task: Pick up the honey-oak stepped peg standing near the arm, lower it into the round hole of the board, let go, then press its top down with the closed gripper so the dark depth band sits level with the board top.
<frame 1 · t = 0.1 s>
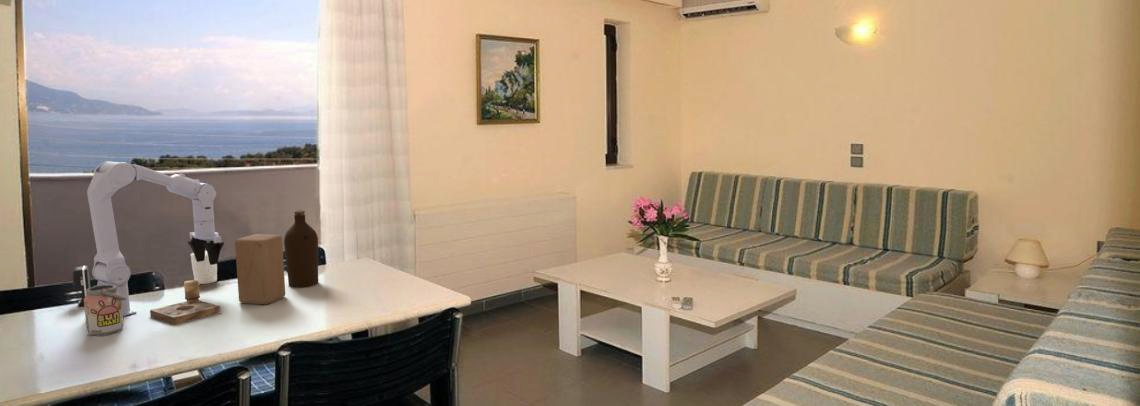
hand: (207, 262, 219), 10 cm above the table, tool pointing down, fingers open, 7 cm apart
olive oil: (303, 284, 232), on the table
peg: (193, 304, 208), on the table
battery charger: (83, 304, 208), on the table
wooden block: (262, 300, 213), on the table
beverage can: (108, 331, 183), on the table
board: (185, 314, 198), on the table
white cup: (206, 282, 235), on the table
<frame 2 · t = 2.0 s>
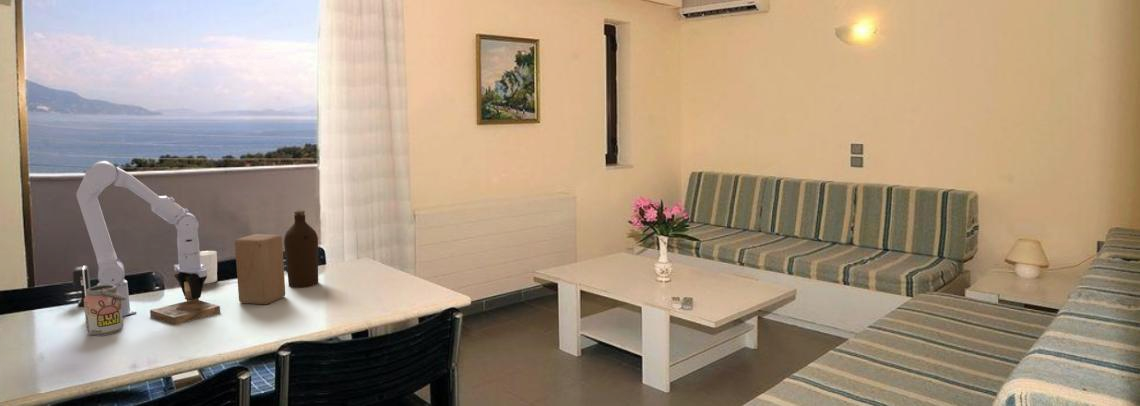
hand: (192, 296, 208), 2 cm above the table, tool pointing down, fingers closed on peg, 4 cm apart
peg: (193, 304, 208), on the table, touching gripper
everything else where it was.
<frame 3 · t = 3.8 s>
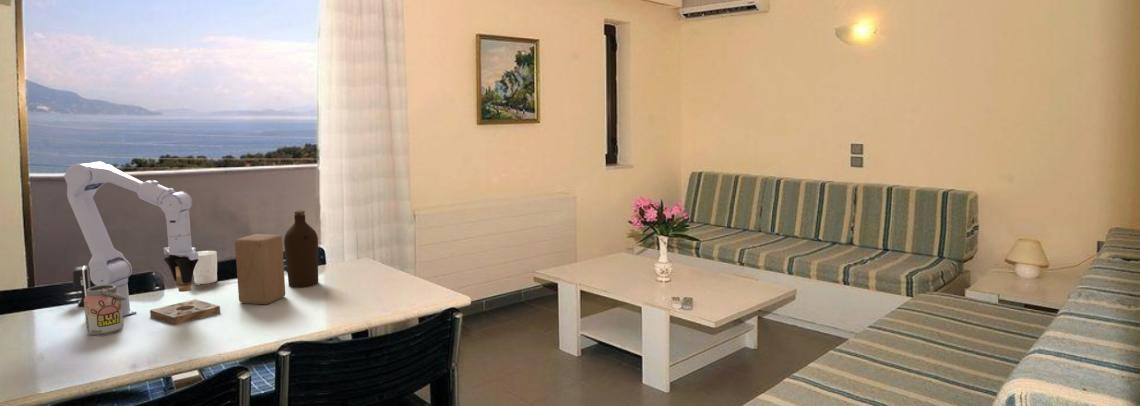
hand: (183, 281, 196), 10 cm above the table, tool pointing down, fingers closed on peg, 4 cm apart
peg: (185, 290, 197), point 7 cm above the table, touching gripper
everything else where it was.
when the fingers open (3 cm above the table, at t = 5.4 s): peg stays where it is, resting in board.
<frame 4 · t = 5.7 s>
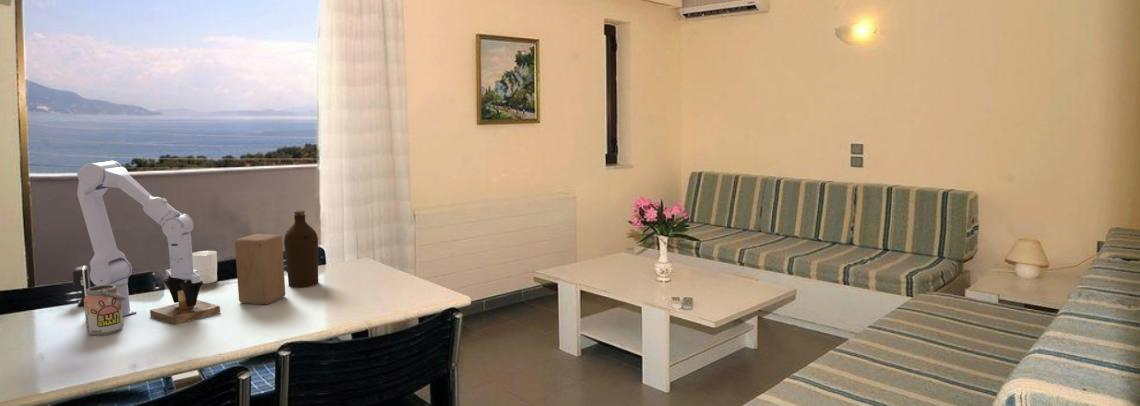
hand: (184, 303, 197), 3 cm above the table, tool pointing down, fingers open, 7 cm apart
peg: (187, 314, 198), resting in board
everything else where it was.
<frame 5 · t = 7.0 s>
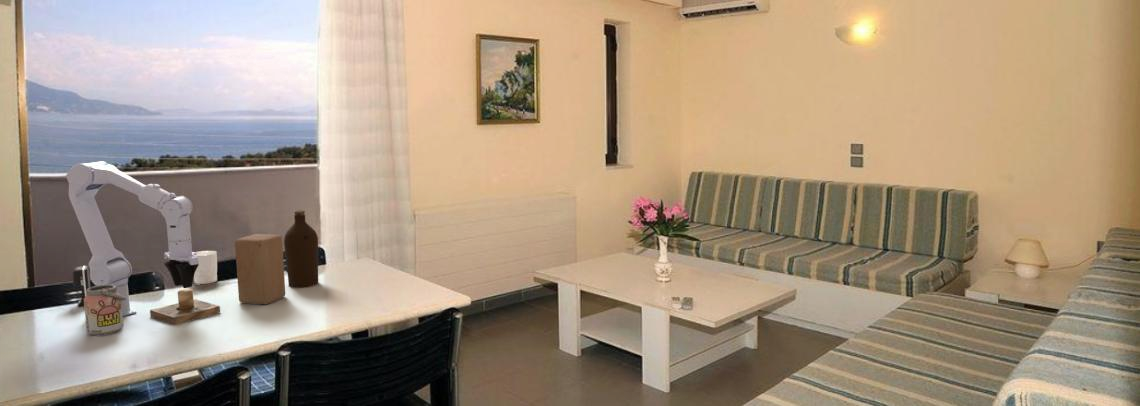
hand: (183, 286, 196), 8 cm above the table, tool pointing down, fingers open, 4 cm apart
nothing on the table moved.
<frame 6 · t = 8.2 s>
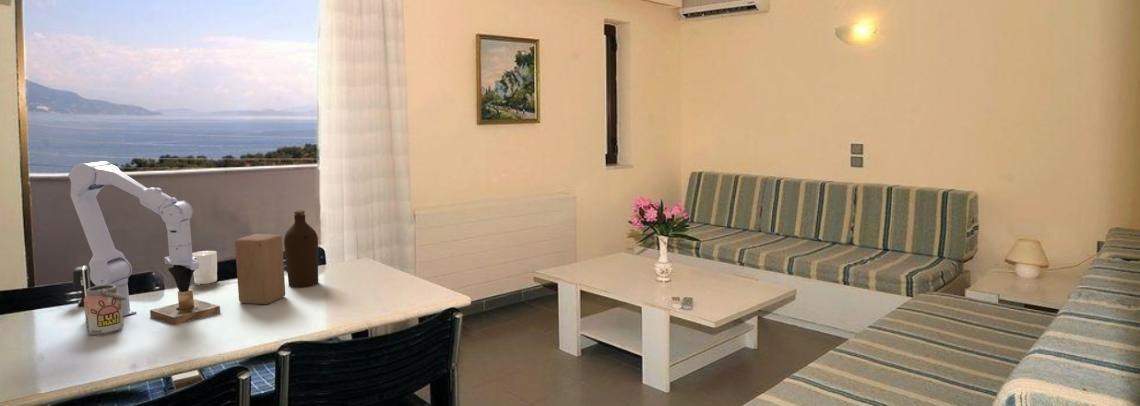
hand: (183, 291, 197), 7 cm above the table, tool pointing down, fingers closed
nothing on the table moved.
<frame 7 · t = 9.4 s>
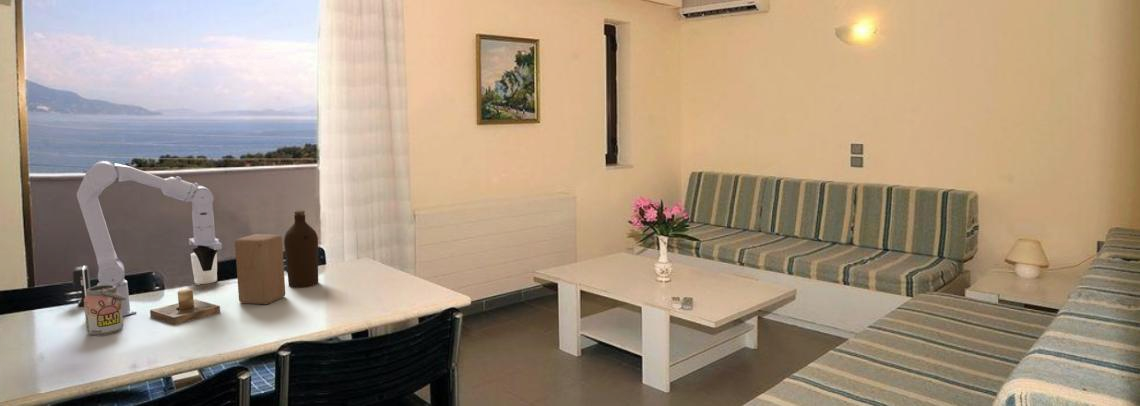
hand: (207, 270, 209), 10 cm above the table, tool pointing down, fingers closed
nothing on the table moved.
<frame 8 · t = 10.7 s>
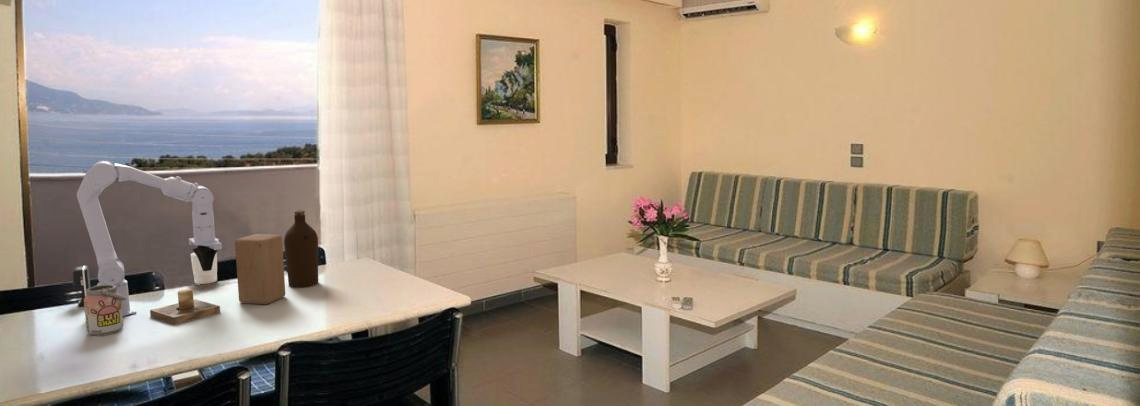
hand: (207, 270, 209), 10 cm above the table, tool pointing down, fingers closed
nothing on the table moved.
at the end: peg 0.4 cm off-centre on the board, point 0.0 cm above the board's base; peg tilted 0°; the gripper is holding nothing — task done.
